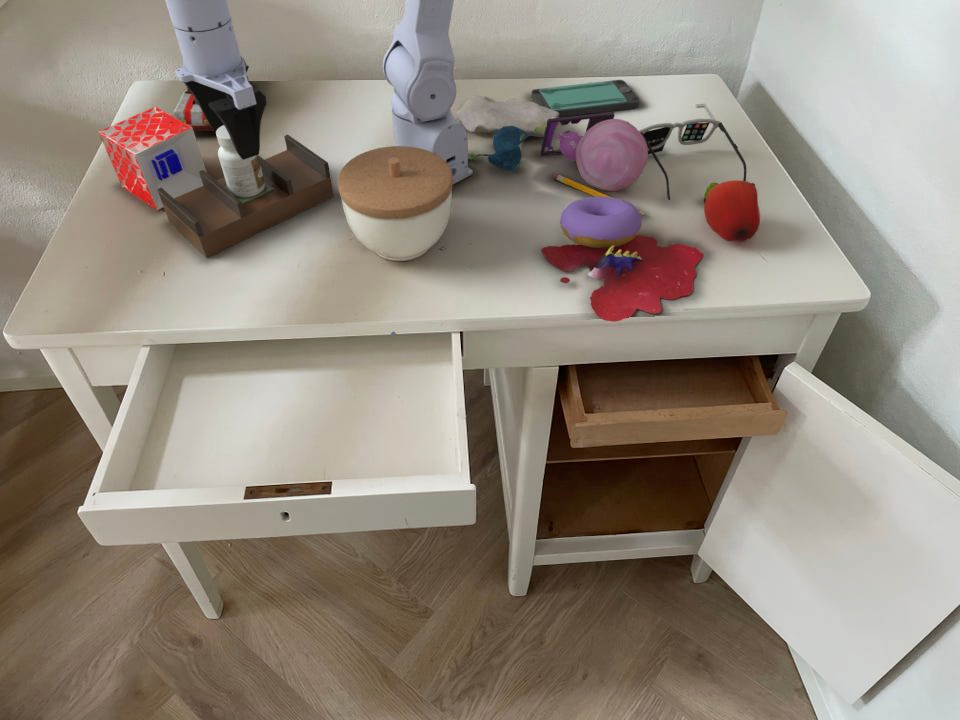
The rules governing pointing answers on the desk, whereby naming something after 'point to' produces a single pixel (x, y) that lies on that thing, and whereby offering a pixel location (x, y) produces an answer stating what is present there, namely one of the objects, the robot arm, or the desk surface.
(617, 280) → the red splat with dinosaur
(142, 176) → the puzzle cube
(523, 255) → the desk surface
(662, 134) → the smart glasses
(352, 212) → the lidded bowl
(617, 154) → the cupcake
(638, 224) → the donut
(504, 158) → the blue flowers
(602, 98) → the smartphone
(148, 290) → the desk surface
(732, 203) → the apple
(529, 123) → the stone
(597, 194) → the pencil
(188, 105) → the toy car
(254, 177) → the pill bottle
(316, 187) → the divided wooden tray
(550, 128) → the purple rectangular frame
